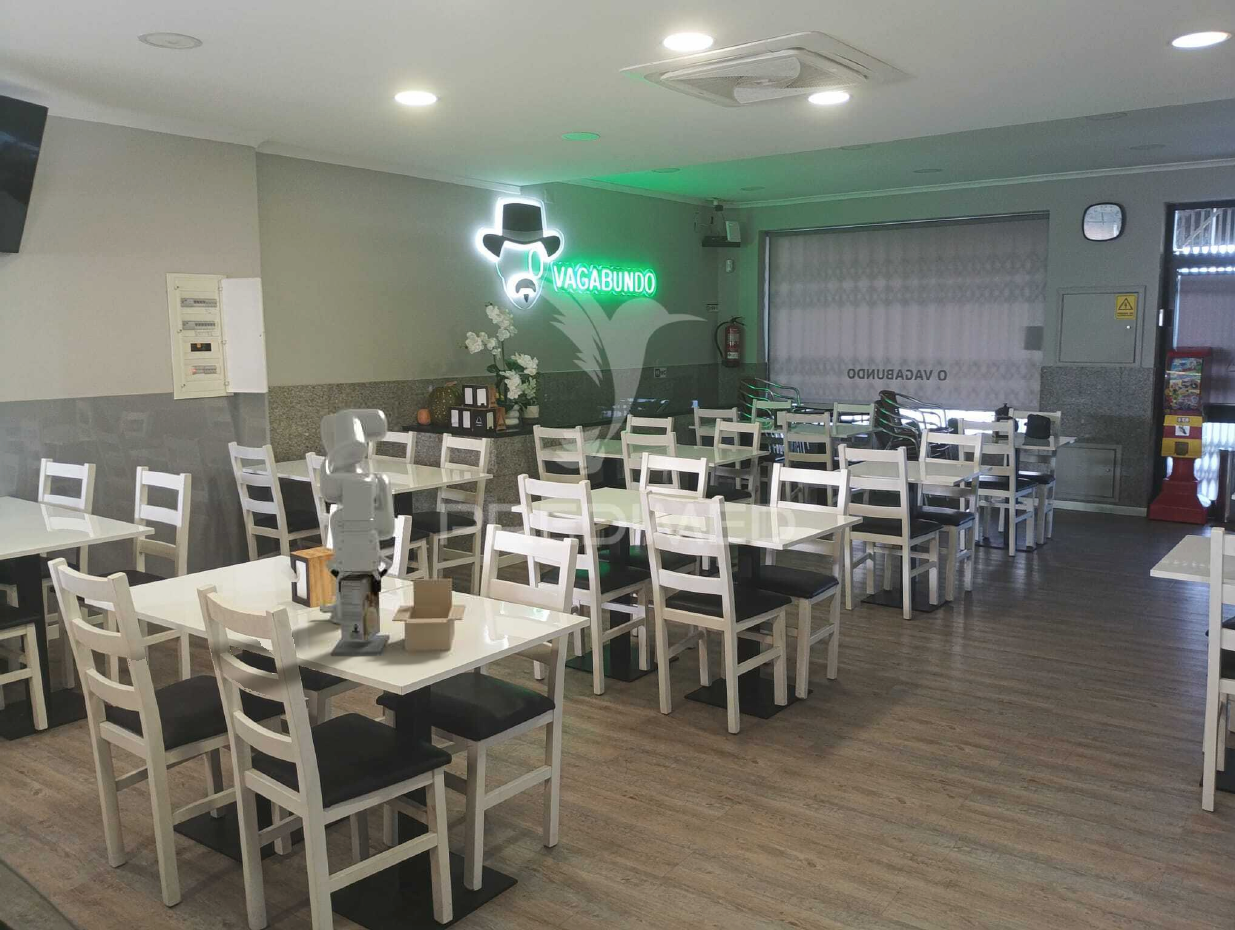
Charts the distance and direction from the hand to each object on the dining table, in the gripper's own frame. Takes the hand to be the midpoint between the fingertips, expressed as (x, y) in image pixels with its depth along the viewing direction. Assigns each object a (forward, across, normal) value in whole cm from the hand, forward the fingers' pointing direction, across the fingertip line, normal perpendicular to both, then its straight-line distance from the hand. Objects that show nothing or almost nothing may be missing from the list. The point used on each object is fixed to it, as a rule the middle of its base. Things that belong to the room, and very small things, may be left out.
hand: (360, 594), depth 238 cm
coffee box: (+11, 0, 0) cm, 11 cm away
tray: (+14, 0, 0) cm, 14 cm away
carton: (+14, +17, +1) cm, 22 cm away
